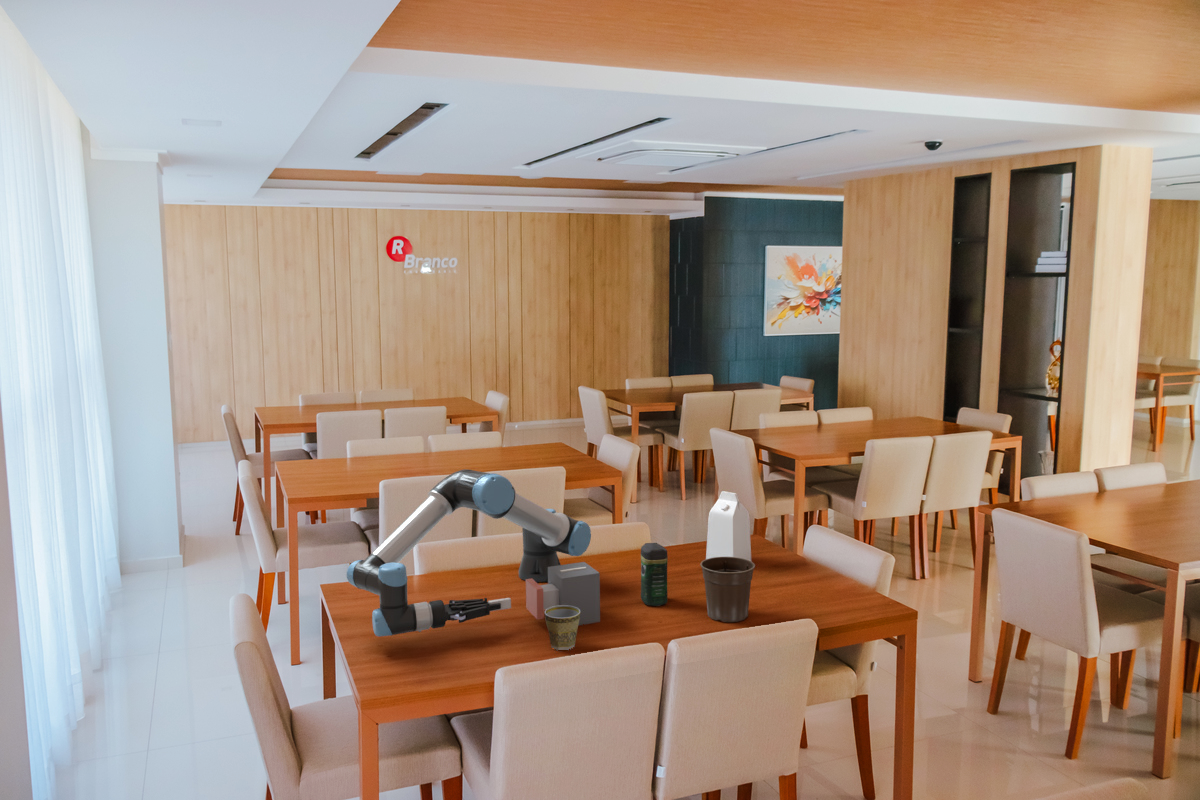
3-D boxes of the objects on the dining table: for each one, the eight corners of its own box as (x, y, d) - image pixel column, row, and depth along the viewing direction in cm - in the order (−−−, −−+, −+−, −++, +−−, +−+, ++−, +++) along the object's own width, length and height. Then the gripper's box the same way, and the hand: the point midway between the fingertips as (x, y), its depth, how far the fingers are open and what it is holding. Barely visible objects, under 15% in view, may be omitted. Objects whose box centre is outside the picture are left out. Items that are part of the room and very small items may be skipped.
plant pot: (690, 610, 261) (690, 559, 259) (736, 603, 267) (736, 553, 265) (717, 629, 246) (717, 575, 244) (764, 620, 252) (765, 568, 250)
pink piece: (537, 619, 246) (536, 589, 245) (526, 608, 255) (525, 579, 254) (581, 612, 251) (581, 582, 250) (569, 601, 260) (569, 572, 259)
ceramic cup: (581, 652, 231) (581, 617, 230) (545, 654, 230) (544, 618, 229) (579, 634, 244) (578, 600, 242) (544, 635, 243) (543, 602, 242)
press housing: (562, 628, 248) (561, 577, 246) (548, 614, 259) (547, 565, 257) (600, 621, 253) (599, 572, 251) (584, 608, 264) (584, 560, 262)
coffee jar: (670, 605, 265) (670, 548, 263) (646, 608, 264) (645, 550, 262) (661, 595, 275) (661, 539, 273) (638, 597, 273) (637, 541, 271)
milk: (751, 562, 309) (752, 492, 306) (733, 569, 301) (733, 497, 298) (724, 555, 317) (724, 487, 314) (705, 562, 309) (706, 492, 306)
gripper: (425, 620, 244) (504, 608, 254) (434, 636, 232) (517, 622, 242) (424, 595, 244) (503, 583, 253) (434, 609, 232) (516, 597, 241)
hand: (510, 602), depth 247 cm, fingers closed
